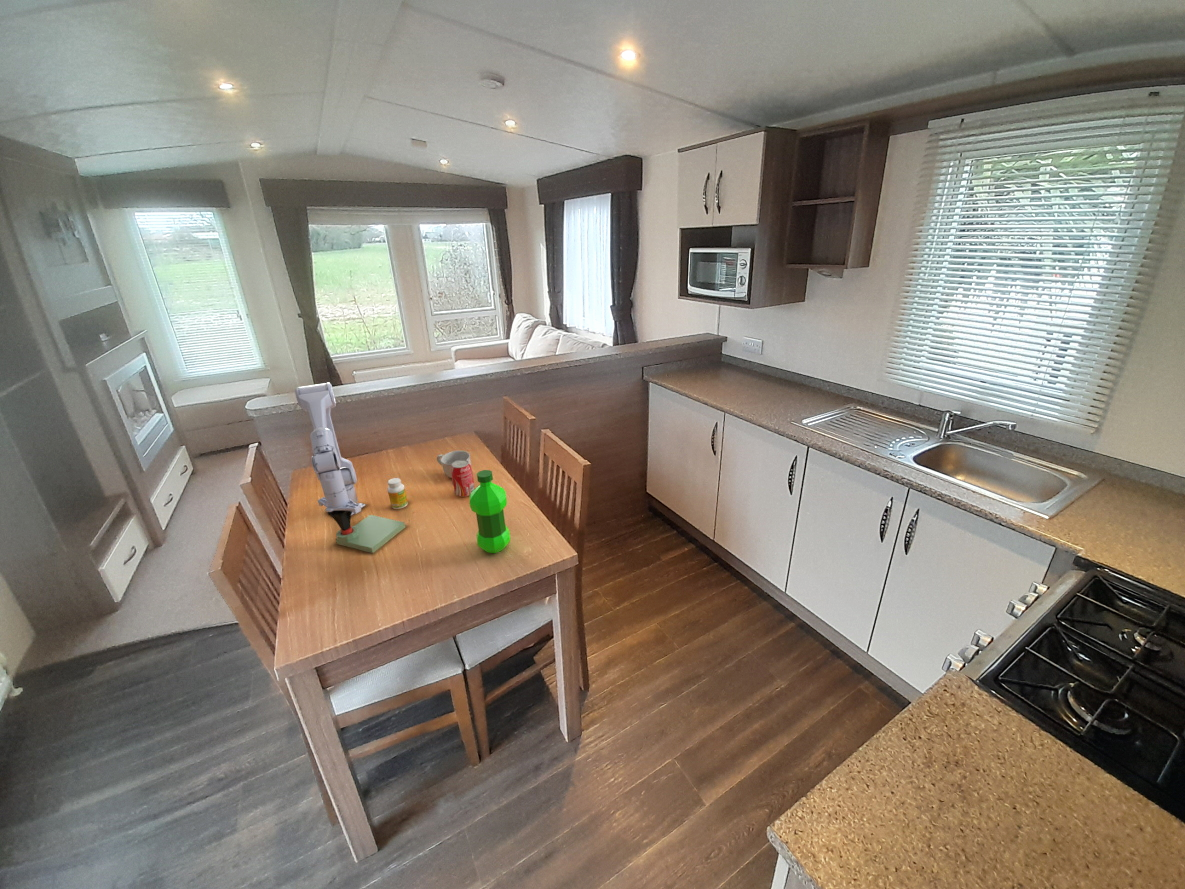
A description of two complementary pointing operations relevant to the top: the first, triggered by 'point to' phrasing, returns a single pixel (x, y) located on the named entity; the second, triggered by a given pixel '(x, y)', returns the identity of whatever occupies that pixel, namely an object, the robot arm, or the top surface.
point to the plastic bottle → (490, 513)
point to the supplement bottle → (397, 494)
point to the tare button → (347, 531)
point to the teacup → (452, 460)
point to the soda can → (462, 478)
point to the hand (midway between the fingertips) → (346, 528)
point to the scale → (370, 533)
